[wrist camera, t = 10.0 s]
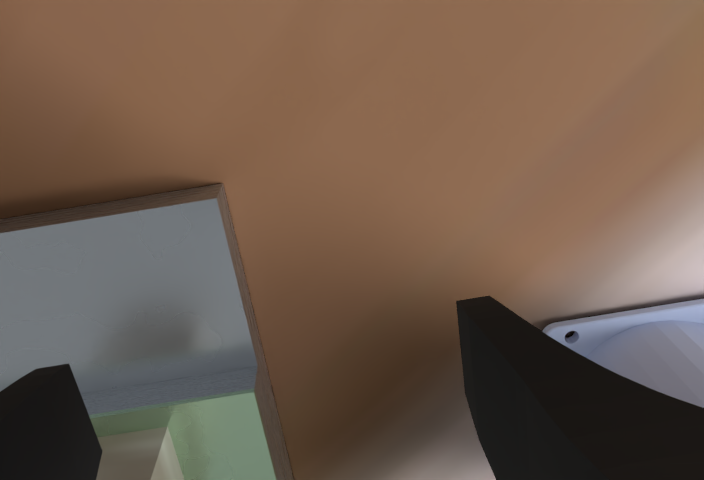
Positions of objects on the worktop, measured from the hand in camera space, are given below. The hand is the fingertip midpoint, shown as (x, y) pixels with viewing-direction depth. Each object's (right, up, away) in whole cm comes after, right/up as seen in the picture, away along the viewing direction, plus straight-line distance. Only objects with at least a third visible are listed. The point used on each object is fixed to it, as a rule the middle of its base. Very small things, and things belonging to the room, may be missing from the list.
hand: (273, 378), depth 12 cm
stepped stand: (-6, -5, +12) cm, 15 cm away
